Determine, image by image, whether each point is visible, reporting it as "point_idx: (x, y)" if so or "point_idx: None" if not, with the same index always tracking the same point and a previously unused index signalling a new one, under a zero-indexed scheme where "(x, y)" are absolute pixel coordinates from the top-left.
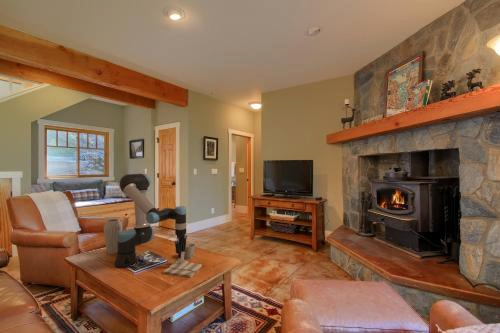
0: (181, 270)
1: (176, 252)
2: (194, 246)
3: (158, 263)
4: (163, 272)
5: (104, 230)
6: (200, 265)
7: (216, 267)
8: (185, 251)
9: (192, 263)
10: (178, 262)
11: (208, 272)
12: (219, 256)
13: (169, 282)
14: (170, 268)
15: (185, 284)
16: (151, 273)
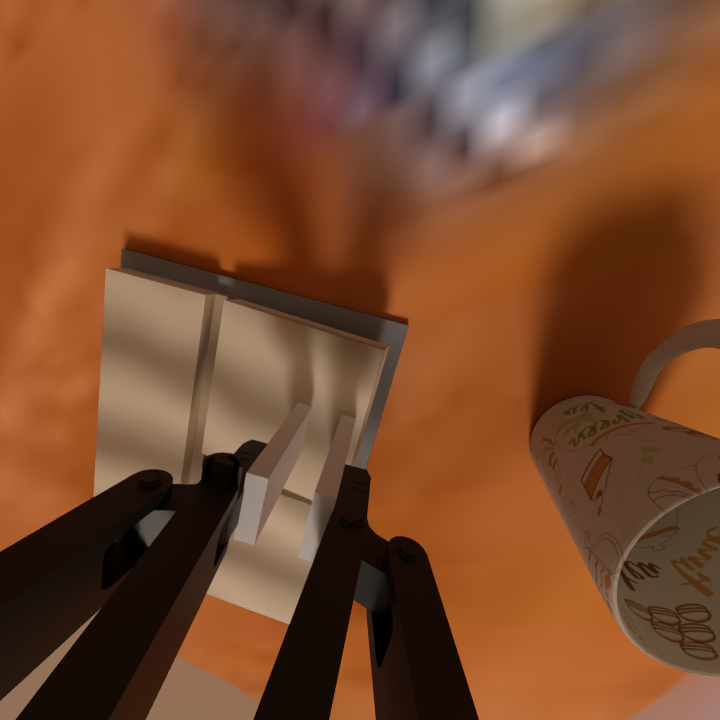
0: (167, 462)
1: (120, 491)
2: (680, 658)
3: (420, 65)
4: (116, 270)
5: None
6: (282, 621)
7: (339, 693)
8: (592, 464)
9: None
10: (313, 398)
11: (241, 646)
12: (591, 710)
13: (5, 386)
14: (191, 330)
15: (17, 518)
16: (122, 108)
